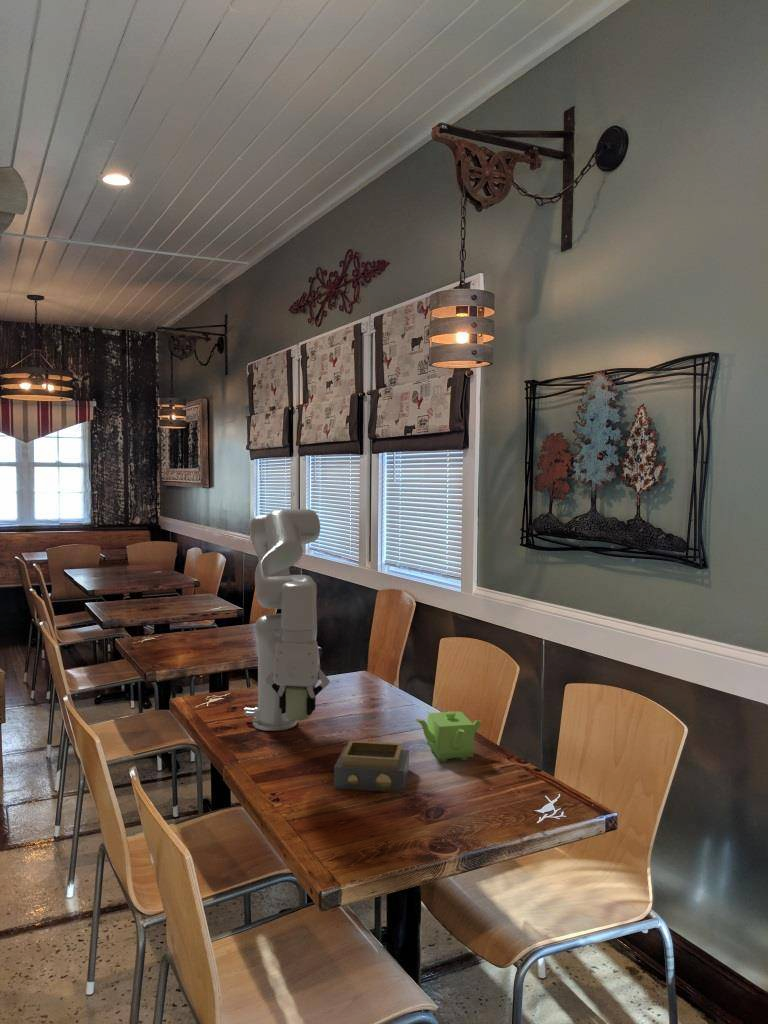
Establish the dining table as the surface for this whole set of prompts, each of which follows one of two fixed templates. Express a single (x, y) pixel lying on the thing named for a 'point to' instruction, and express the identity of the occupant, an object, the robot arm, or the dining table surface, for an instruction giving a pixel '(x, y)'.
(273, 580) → the robot arm
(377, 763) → the toy stove
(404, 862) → the dining table surface
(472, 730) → the kettle
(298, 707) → the pale green cup
